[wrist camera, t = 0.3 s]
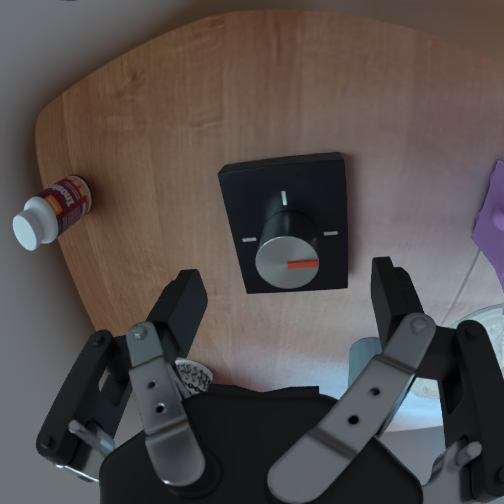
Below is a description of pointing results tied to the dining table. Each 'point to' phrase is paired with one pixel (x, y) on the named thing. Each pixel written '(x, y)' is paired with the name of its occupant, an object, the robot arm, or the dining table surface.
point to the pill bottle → (52, 212)
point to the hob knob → (288, 250)
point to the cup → (362, 356)
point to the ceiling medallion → (500, 333)
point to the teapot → (493, 223)
